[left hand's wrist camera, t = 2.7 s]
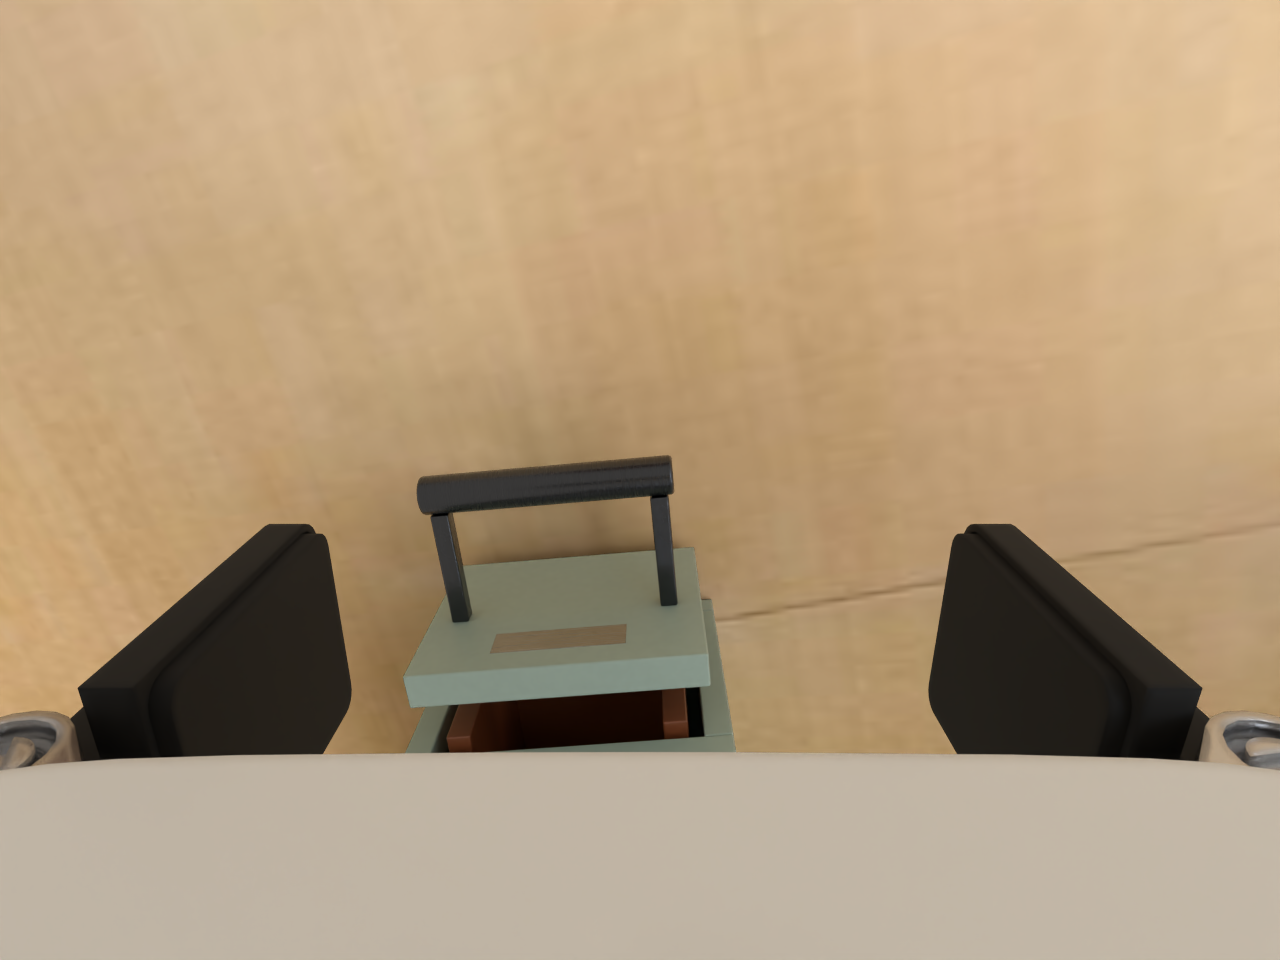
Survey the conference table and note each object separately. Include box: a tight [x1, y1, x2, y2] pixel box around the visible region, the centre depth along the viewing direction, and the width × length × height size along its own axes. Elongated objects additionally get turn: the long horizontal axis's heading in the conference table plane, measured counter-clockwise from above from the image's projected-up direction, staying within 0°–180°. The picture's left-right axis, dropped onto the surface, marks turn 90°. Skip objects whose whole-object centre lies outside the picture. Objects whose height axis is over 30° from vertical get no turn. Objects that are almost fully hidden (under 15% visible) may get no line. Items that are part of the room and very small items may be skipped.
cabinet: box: [405, 599, 736, 753], centre depth 31 cm, size 19×11×10 cm, turn 5°
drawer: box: [403, 455, 711, 753], centre depth 28 cm, size 23×10×8 cm, turn 5°
